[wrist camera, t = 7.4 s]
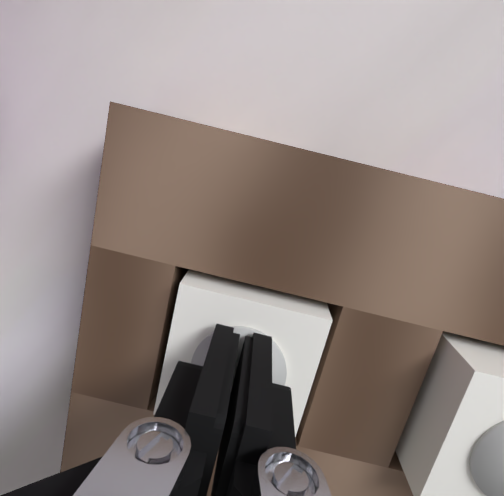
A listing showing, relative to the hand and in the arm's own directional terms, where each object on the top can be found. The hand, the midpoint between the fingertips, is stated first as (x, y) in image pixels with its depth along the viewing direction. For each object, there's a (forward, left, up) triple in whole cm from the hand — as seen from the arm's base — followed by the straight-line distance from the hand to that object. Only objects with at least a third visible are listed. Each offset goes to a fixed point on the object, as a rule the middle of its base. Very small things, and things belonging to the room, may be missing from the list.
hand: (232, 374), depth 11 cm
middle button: (-8, 0, -2) cm, 8 cm away
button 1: (0, 0, -3) cm, 3 cm away
